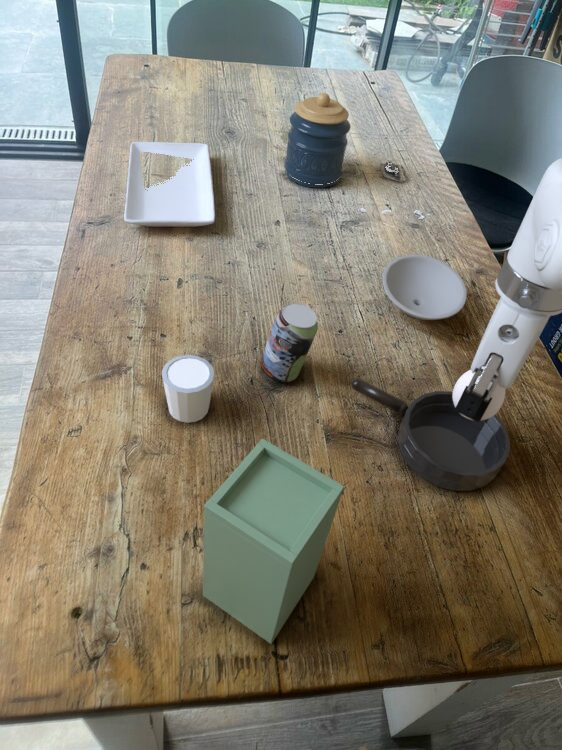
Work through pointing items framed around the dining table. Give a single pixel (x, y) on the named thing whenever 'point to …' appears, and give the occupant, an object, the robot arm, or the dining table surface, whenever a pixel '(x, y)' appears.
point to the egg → (497, 394)
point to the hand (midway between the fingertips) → (476, 397)
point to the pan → (451, 443)
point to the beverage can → (289, 342)
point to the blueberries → (392, 175)
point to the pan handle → (379, 396)
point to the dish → (424, 287)
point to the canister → (317, 141)
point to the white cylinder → (188, 387)
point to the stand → (266, 537)
